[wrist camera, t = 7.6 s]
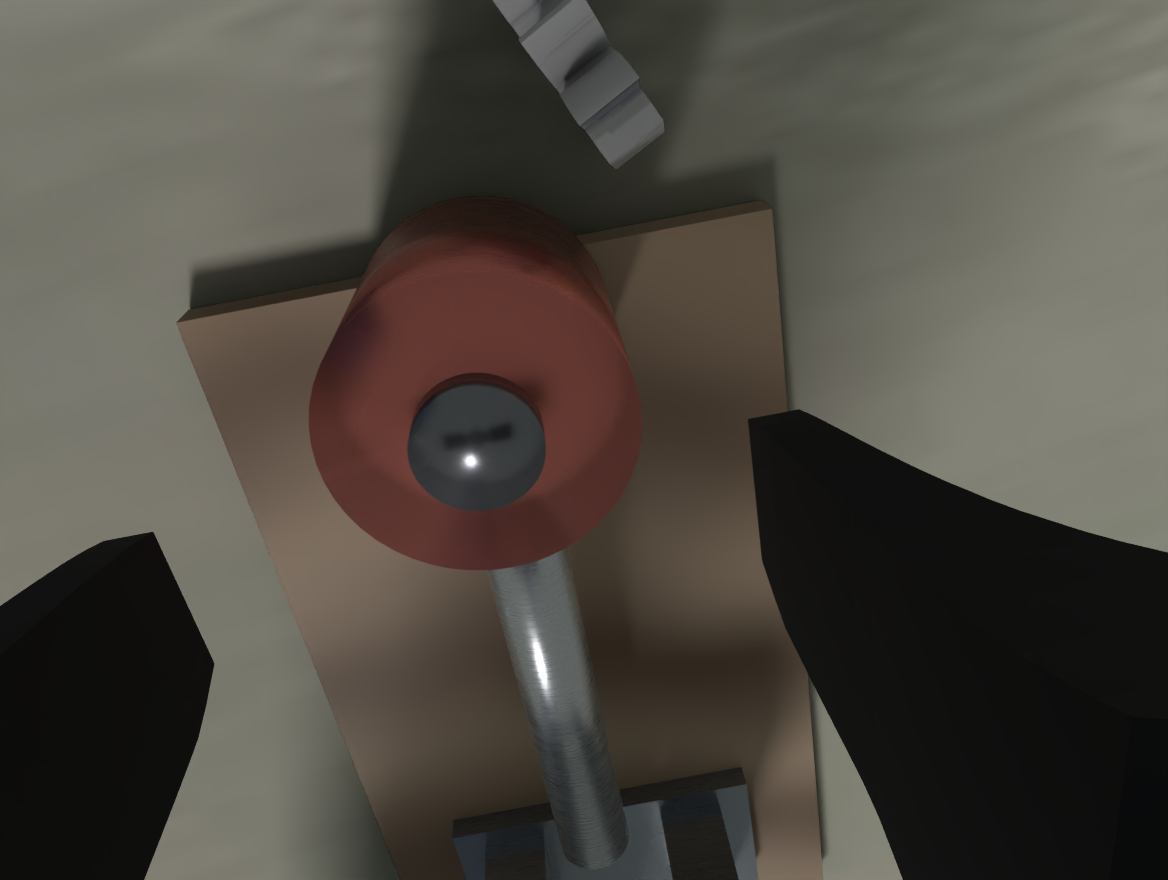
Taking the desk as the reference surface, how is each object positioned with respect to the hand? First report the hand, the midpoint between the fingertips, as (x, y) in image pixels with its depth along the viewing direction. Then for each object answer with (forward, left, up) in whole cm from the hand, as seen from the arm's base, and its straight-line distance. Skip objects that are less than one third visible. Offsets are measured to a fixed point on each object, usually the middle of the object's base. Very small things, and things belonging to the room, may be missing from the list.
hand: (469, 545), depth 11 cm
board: (-9, 0, -9) cm, 13 cm away
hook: (-5, 0, -8) cm, 9 cm away
